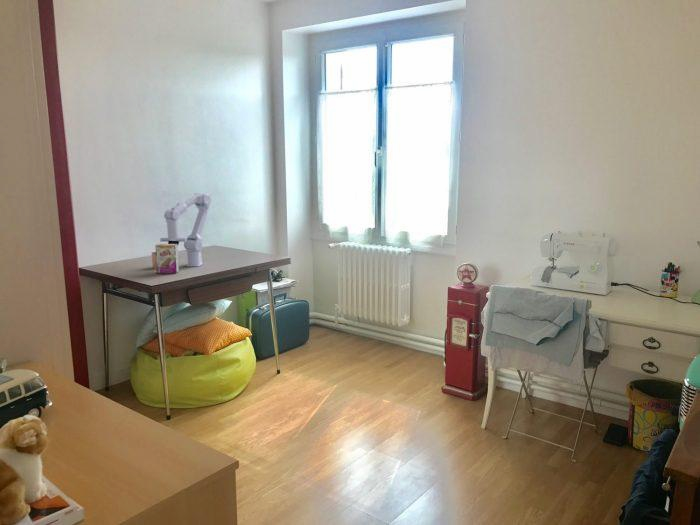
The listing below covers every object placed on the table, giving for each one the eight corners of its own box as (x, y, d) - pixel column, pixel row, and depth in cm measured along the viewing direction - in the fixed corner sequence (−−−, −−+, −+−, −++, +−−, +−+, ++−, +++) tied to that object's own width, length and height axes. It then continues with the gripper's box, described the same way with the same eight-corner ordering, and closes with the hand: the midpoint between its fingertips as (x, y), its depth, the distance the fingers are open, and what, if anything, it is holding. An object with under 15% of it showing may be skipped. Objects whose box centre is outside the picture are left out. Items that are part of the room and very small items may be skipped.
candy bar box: (156, 273, 315) (154, 245, 311) (159, 272, 319) (157, 243, 316) (177, 273, 315) (175, 245, 312) (179, 271, 320) (177, 243, 317)
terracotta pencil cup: (155, 266, 335) (154, 251, 333) (166, 266, 335) (165, 251, 333) (150, 268, 328) (149, 253, 326) (162, 268, 328) (161, 253, 326)
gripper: (157, 231, 316) (159, 255, 319) (182, 231, 316) (184, 255, 318) (162, 229, 323) (163, 252, 326) (187, 229, 322) (188, 253, 325)
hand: (174, 253), depth 323 cm, fingers closed
